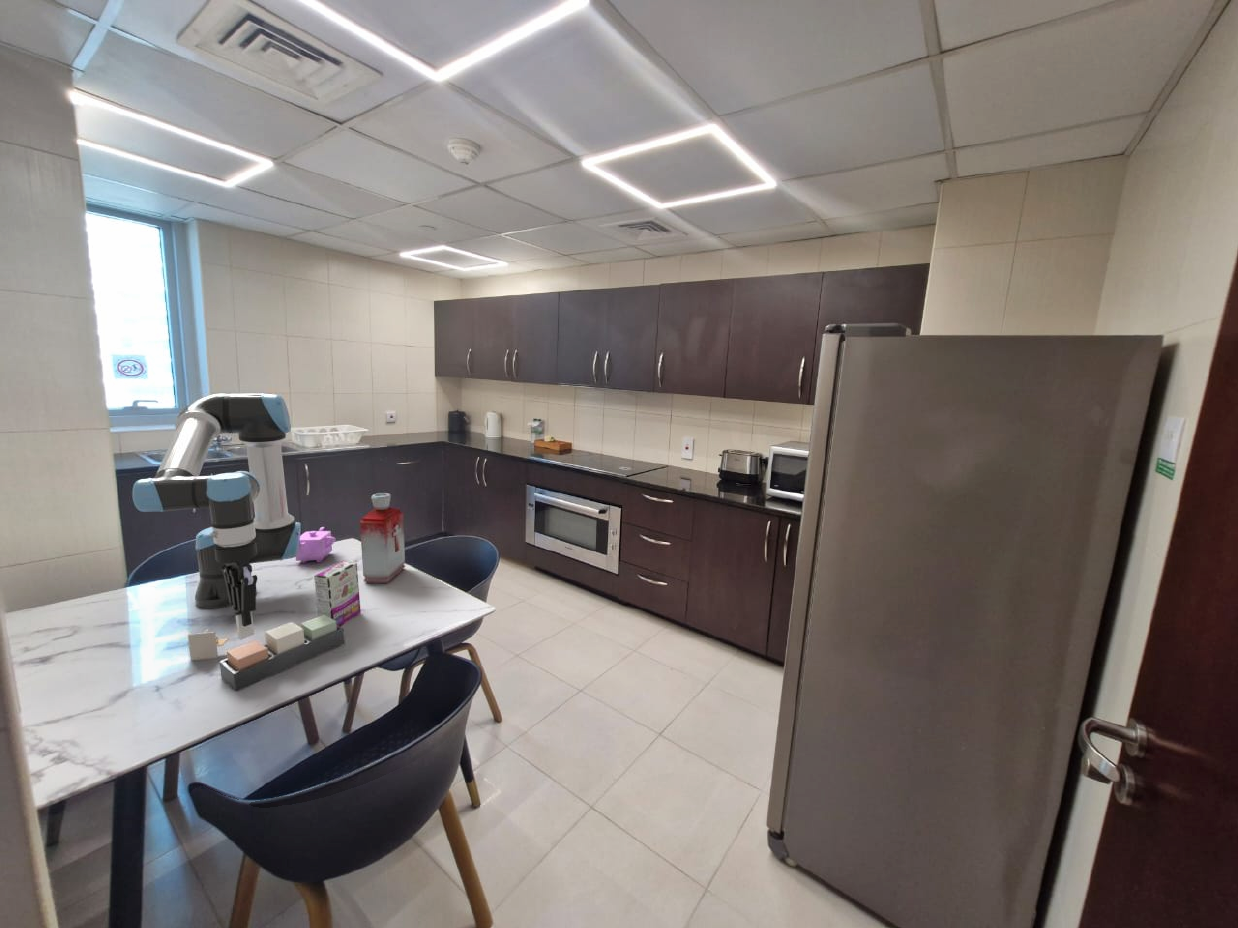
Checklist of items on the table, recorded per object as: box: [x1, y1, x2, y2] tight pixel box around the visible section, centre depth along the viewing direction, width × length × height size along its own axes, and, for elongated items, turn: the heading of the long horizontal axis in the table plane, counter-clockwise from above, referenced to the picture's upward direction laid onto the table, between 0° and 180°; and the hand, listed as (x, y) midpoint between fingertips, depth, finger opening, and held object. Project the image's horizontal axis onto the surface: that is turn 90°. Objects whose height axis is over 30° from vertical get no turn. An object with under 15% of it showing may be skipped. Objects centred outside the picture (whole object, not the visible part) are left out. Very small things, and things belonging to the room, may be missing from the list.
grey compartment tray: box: [219, 625, 346, 692], centre depth 123 cm, size 8×25×4 cm, turn 147°
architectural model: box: [187, 629, 229, 661], centre depth 124 cm, size 3×7×7 cm, turn 107°
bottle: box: [359, 492, 406, 585], centre depth 172 cm, size 14×10×30 cm
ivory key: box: [264, 621, 304, 655], centre depth 122 cm, size 6×6×5 cm
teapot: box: [295, 526, 336, 564], centre depth 186 cm, size 15×13×11 cm
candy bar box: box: [314, 560, 361, 627], centre depth 141 cm, size 11×5×16 cm, turn 168°
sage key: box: [300, 615, 337, 641], centre depth 129 cm, size 6×6×5 cm
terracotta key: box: [226, 639, 269, 671], centre depth 116 cm, size 6×6×5 cm
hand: (246, 636), depth 115 cm, fingers closed
